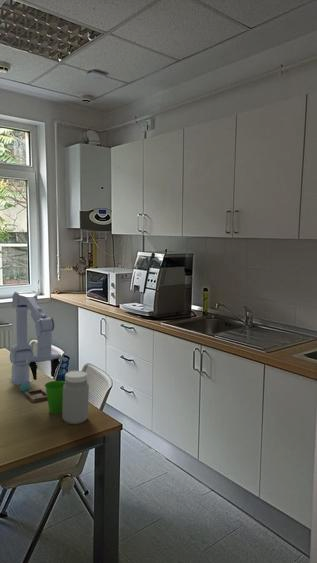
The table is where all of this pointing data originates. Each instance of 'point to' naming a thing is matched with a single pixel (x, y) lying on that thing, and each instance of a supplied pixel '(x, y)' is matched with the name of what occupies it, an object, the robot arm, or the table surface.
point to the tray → (36, 395)
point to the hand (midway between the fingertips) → (43, 377)
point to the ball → (24, 387)
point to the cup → (55, 396)
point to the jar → (75, 397)
